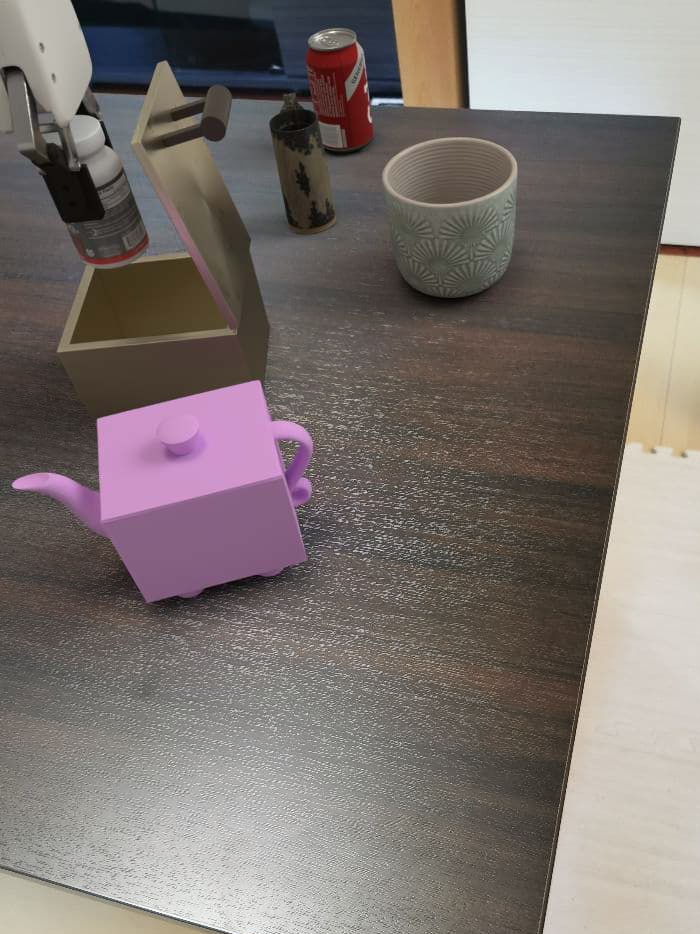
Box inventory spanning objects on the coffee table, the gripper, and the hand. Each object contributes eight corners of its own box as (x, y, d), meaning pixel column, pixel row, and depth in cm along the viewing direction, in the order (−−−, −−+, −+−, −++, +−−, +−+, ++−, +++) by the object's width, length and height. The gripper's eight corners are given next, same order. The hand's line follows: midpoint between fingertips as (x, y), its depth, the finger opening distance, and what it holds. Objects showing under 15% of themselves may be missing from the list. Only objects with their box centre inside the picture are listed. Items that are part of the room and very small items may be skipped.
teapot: (318, 471, 69) (288, 350, 60) (344, 565, 63) (315, 446, 53) (76, 532, 67) (4, 418, 58) (78, 635, 61) (-3, 526, 51)
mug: (339, 230, 92) (321, 119, 83) (289, 238, 92) (265, 128, 82) (332, 193, 97) (314, 85, 88) (285, 201, 97) (262, 93, 87)
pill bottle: (76, 245, 69) (23, 123, 62) (143, 224, 70) (99, 103, 63) (87, 279, 66) (33, 156, 58) (158, 258, 67) (113, 134, 59)
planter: (407, 322, 81) (396, 217, 72) (383, 252, 88) (370, 151, 80) (531, 296, 81) (535, 190, 73) (496, 229, 89) (496, 126, 81)
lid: (129, 144, 55) (204, 120, 54) (157, 62, 63) (223, 40, 62) (230, 330, 67) (293, 313, 66) (243, 241, 75) (299, 225, 74)
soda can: (342, 162, 101) (326, 56, 92) (309, 145, 105) (290, 41, 95) (385, 140, 104) (373, 35, 94) (351, 124, 107) (336, 21, 98)
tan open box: (97, 431, 75) (56, 352, 68) (121, 341, 83) (87, 262, 76) (261, 415, 74) (236, 334, 67) (269, 326, 82) (248, 245, 75)
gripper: (-40, -119, 56) (69, 148, 70) (-132, -28, 45) (18, 266, 59) (70, -133, 56) (157, 138, 70) (3, -44, 45) (122, 255, 59)
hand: (92, 194), depth 64 cm, fingers closed on pill bottle, 5 cm apart
